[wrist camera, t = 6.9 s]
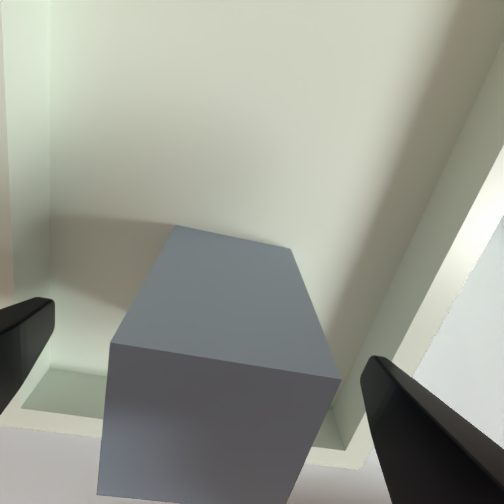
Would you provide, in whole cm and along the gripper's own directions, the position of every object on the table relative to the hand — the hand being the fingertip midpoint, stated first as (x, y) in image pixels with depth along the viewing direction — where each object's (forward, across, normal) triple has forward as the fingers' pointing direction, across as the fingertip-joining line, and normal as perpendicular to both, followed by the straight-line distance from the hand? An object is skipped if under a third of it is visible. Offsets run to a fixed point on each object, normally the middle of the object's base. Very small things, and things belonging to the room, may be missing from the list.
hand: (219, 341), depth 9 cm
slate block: (+3, 0, 0) cm, 3 cm away
